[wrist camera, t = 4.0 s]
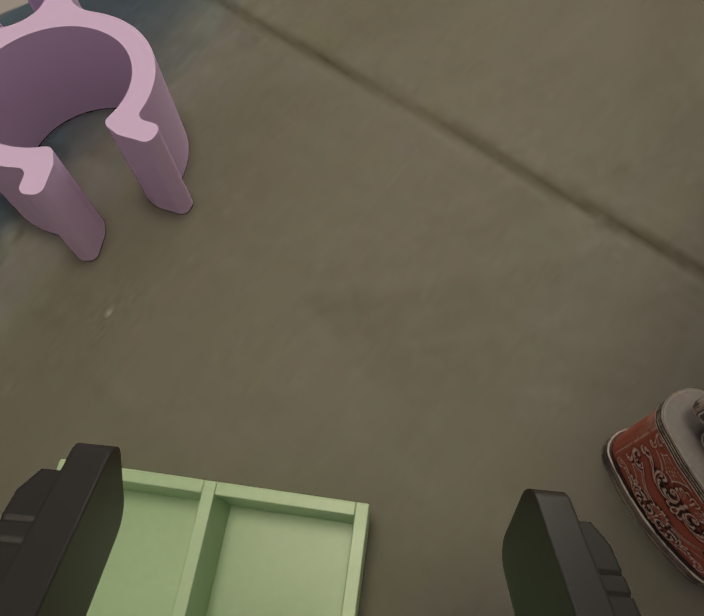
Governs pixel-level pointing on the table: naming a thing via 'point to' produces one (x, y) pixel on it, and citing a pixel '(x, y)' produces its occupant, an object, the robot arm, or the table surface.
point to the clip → (74, 99)
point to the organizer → (231, 551)
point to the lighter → (665, 477)
